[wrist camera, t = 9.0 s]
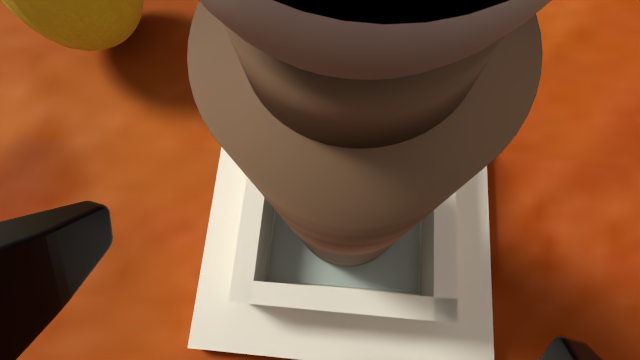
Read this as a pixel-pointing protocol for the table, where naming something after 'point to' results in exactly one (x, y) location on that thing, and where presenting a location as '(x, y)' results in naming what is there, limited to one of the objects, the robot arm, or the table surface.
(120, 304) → the table surface
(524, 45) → the pepper mill
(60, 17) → the lemon
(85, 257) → the robot arm
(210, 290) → the mill stand
